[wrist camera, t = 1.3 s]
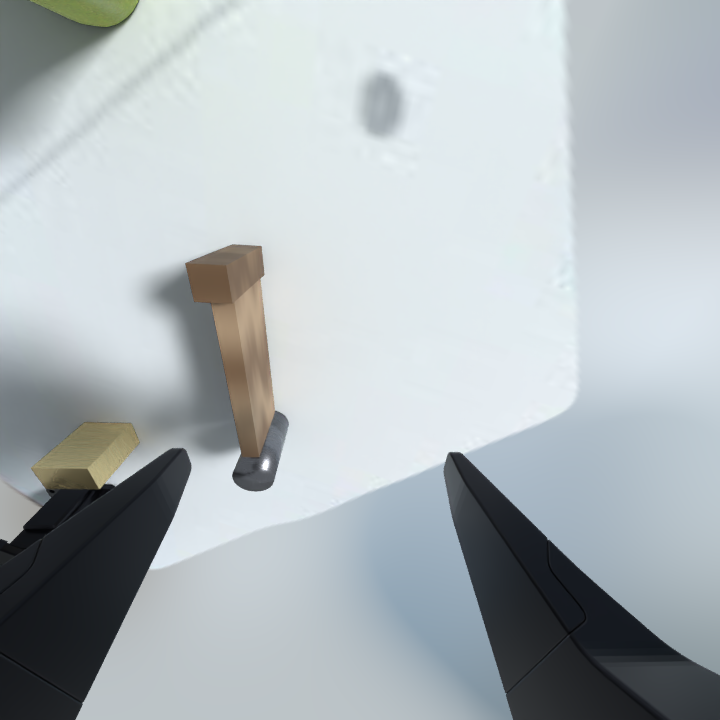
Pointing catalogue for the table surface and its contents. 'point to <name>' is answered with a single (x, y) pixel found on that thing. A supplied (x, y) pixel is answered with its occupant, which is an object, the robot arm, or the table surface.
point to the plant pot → (91, 10)
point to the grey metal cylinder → (263, 459)
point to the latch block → (87, 456)
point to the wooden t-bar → (239, 335)
